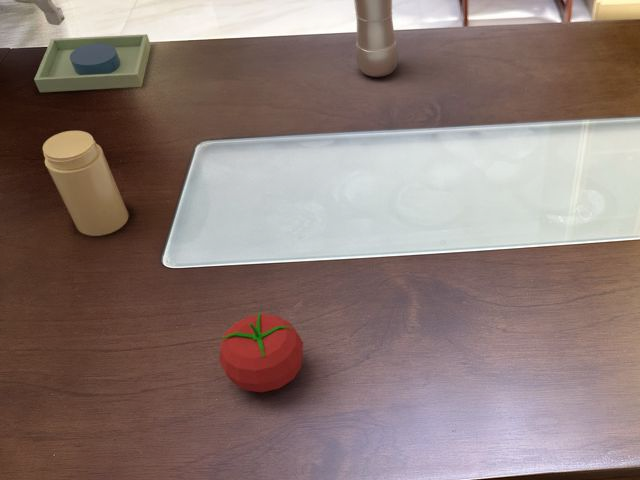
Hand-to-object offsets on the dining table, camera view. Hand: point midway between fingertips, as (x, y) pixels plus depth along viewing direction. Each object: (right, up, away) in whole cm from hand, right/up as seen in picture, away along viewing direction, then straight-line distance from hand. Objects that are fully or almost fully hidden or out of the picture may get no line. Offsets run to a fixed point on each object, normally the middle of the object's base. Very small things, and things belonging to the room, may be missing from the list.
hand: (72, 7), depth 103 cm
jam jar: (+12, -33, -16) cm, 39 cm away
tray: (0, -6, +7) cm, 9 cm away
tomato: (+36, -52, -30) cm, 70 cm away
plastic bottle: (+43, -6, +9) cm, 44 cm away
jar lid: (0, -5, +5) cm, 7 cm away
